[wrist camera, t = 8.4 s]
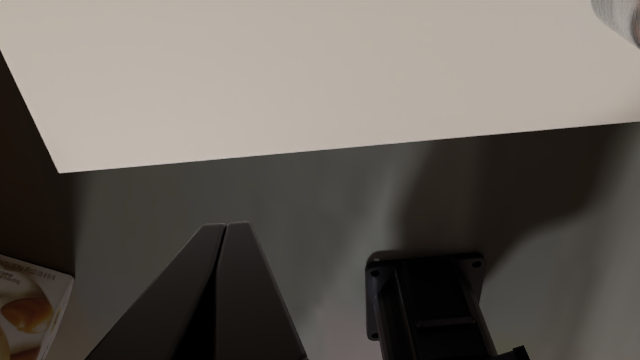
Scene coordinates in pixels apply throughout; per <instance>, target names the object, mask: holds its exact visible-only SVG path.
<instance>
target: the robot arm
mask: <svg viewBox="0 0 640 360" xmlns="http://www.w3.org/2000/svg"><path fill="white" fill-rule="evenodd" d="M476 261H477V262H476ZM485 267H486V261H485V258H484V256H483V255H482V254H481V253H466V254H455V255H444V256H433V257H422V258H411V259H400V260H389V261H377V262H371V263H369V264H367V266H366V267H365V288H366V329H367V337H368V339H369V340H372V341H380V347H381V352H382V358H383V360H530V359H529V356H528V354H527V352H526V350H525V347H524V345H523V346H519V347H516V348H513V351H510V352H507V353H504V354H500V355H498V354H497V351H496V349H495V346H494V343H493V341H492V338H491V336H490V333H489V330H488V328H487V325H486V322H485V320H484V317H483V315H482V312H481V309H480V307H479V300H480V294H481V289H482V283H483V278H484V272H485ZM375 270H377V271H375ZM84 360H309V359H307V354H306V352H305V350H304V347H303V345H302V343H301V340H300V338H299V335H298V333H297V331H296V328H295V326H294V324H293V321H292V319H291V316H290V314H289V312H288V309H287V307H286V305H285V302H284V300H283V297H282V295H281V293H280V290H279V288H278V286H277V283H276V281H275V278H274V276H273V274H272V271H271V269H270V267H269V264H268V262H267V259H266V257H265V255H264V252H263V250H262V248H261V245H260V243H259V240H258V238H257V236H256V233H255V231H254V229H253V226H252V224H251V223H250V222H249V221H243V222H230V223H229V224H227V225H226V224H225V223H213V224H204V225H202V226H201V227H200V228H199V229H198V230H197V232H196V233H195V234H194V235H193V236H192V237H191V238H190V240H189V241H188V242H187V243H186V244H185V245H184V246H183V248H182V249H181V250H180V251H179V252H178V253H177V254H176V256H175V257H174V258H173V259H172V260H171V261H170V262H169V264H168V265H167V266H166V267H165V268H164V269H163V270H162V272H161V273H160V274H159V275H158V276H157V277H156V278H155V280H154V281H153V282H152V283H151V284H150V285H149V286H148V288H147V289H146V290H145V291H144V292H143V293H142V294H141V296H140V297H139V298H138V299H137V300H136V301H135V302H134V303H133V305H132V306H131V307H130V308H129V309H128V310H127V311H126V313H125V314H124V315H123V316H122V317H121V318H120V319H119V321H118V322H117V323H116V324H115V325H114V326H113V327H112V329H111V330H110V331H109V332H108V333H107V334H106V335H105V337H104V338H103V339H102V340H101V341H100V342H99V343H98V345H97V346H96V347H95V348H94V349H93V350H92V351H91V353H90V354H89V355H88V356H87V357H86V358H85V359H84Z"/></svg>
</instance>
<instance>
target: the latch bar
mask: <svg viewBox="0 0 640 360" xmlns="http://www.w3.org/2000/svg"><path fill="white" fill-rule="evenodd" d="M591 5H592V9H593V11H594V13H595V15H596V16H597V18H598V19H599V20H600V21H601V22H602V23H603V24H605V25H606V26H608V27H609V28H610V29H612V30H613V31H615V32H616V33H617V34H619V35H620V36H621V37H623V38H624V39H626V40H627V41H628V42H630V43H631V44H633V45H634V46H635V47H637V48H638V49H640V0H591Z"/></svg>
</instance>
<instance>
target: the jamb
mask: <svg viewBox="0 0 640 360" xmlns="http://www.w3.org/2000/svg"><path fill="white" fill-rule="evenodd" d="M0 50H1V52H2V54H3V57H4V59H5V61H6V63H7V65H8V67H9V69H10V71H11V73H12V76H13V78H14V80H15V82H16V84H17V86H18V88H19V90H20V92H21V95H22V97H23V99H24V101H25V103H26V105H27V107H28V109H29V111H30V113H31V116H32V118H33V120H34V122H35V124H36V126H37V128H38V130H39V132H40V135H41V137H42V139H43V141H44V143H45V145H46V147H47V149H48V151H49V154H50V156H51V158H52V160H53V162H54V164H55V166H56V168H57V170H58V173H68V172H80V171H91V170H102V169H113V168H124V167H135V166H147V165H158V164H169V163H180V162H191V161H202V160H214V159H225V158H236V157H247V156H258V155H269V154H281V153H292V152H303V151H314V150H325V149H336V148H348V147H359V146H370V145H381V144H392V143H403V142H415V141H426V140H437V139H448V138H459V137H470V136H482V135H493V134H504V133H515V132H526V131H537V130H549V129H560V128H571V127H582V126H593V125H604V124H616V123H627V122H638V121H640V49H638V48H637V47H635V46H634V45H633V44H631V43H630V42H628V41H627V40H626V39H624V38H623V37H621V36H620V35H619V34H617V33H616V32H615V31H613V30H612V29H610V28H609V27H608V26H606V25H605V24H603V23H602V22H601V21H600V20H599V19H598V18H597V16H596V15H595V13H594V11H593V9H592V5H591V0H0Z"/></svg>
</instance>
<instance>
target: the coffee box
mask: <svg viewBox="0 0 640 360" xmlns="http://www.w3.org/2000/svg"><path fill="white" fill-rule="evenodd" d="M73 283H74V278H73V277H72V276H70V275H68V274H64V273H61V272H58V271H54V270H51V269H47V268H44V267H41V266H37V265H34V264H31V263H27V262H24V261H21V260H17V259H14V258H10V257H7V256H4V255H0V360H45V357H46V355H47V353H48V351H49V349H50V346H51V344H52V342H53V340H54V338H55V335H56V333H57V330H58V328H59V325H60V322H61V319H62V317H63V314H64V311H65V308H66V306H67V303H68V300H69V297H70V294H71V291H72V287H73Z"/></svg>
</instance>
